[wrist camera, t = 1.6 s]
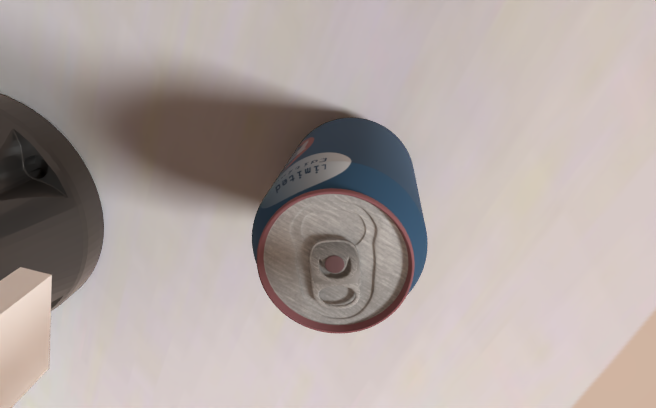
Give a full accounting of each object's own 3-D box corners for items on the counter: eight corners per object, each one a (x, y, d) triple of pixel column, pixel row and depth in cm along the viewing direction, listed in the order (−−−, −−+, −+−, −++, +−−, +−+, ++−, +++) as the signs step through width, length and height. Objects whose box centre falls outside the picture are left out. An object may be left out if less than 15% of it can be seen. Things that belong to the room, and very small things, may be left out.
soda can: (288, 116, 29) (227, 177, 17) (412, 109, 28) (432, 169, 17) (299, 229, 31) (252, 347, 20) (413, 226, 30) (432, 348, 19)
